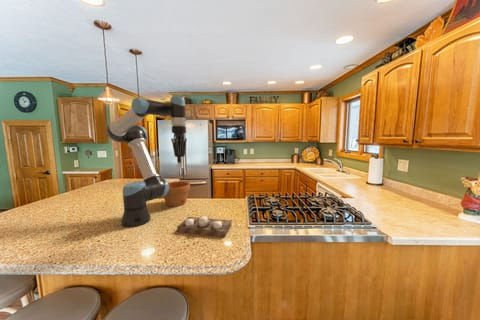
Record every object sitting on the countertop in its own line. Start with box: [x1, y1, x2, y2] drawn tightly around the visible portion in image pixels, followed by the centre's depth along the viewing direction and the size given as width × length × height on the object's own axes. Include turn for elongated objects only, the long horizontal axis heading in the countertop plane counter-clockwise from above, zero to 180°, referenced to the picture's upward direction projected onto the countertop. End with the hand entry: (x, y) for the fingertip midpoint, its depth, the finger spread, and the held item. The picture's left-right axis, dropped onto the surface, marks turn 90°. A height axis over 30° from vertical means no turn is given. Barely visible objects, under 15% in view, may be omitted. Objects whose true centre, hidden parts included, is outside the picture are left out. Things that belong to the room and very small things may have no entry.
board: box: [176, 216, 232, 238], centre depth 103 cm, size 26×13×3 cm, turn 78°
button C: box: [213, 221, 222, 230], centre depth 99 cm, size 4×4×4 cm
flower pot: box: [163, 181, 191, 207], centre depth 144 cm, size 21×21×15 cm
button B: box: [198, 215, 208, 227], centre depth 100 cm, size 4×4×4 cm
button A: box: [184, 218, 194, 227], centre depth 102 cm, size 4×4×4 cm
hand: (180, 168), depth 107 cm, fingers closed
